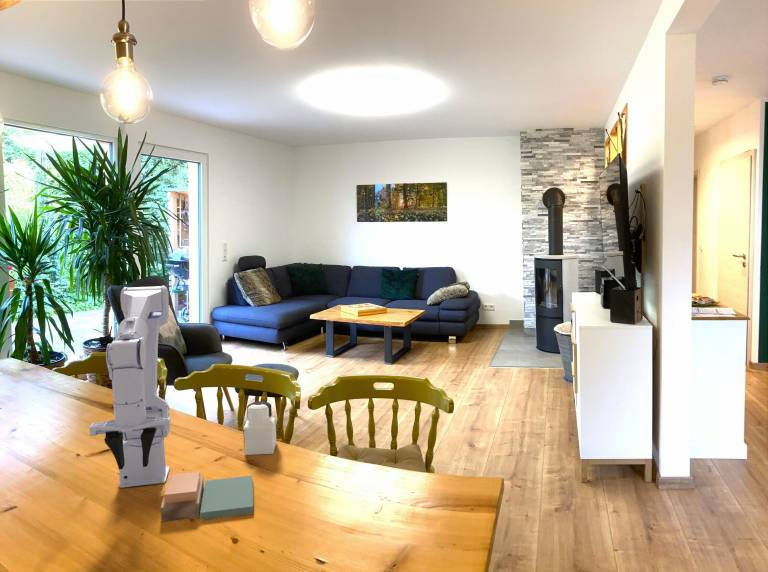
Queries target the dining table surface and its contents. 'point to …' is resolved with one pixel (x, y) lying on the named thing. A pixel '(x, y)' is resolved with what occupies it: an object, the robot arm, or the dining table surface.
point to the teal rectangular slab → (227, 497)
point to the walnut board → (183, 507)
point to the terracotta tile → (182, 487)
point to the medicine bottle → (259, 429)
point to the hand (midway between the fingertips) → (133, 466)
